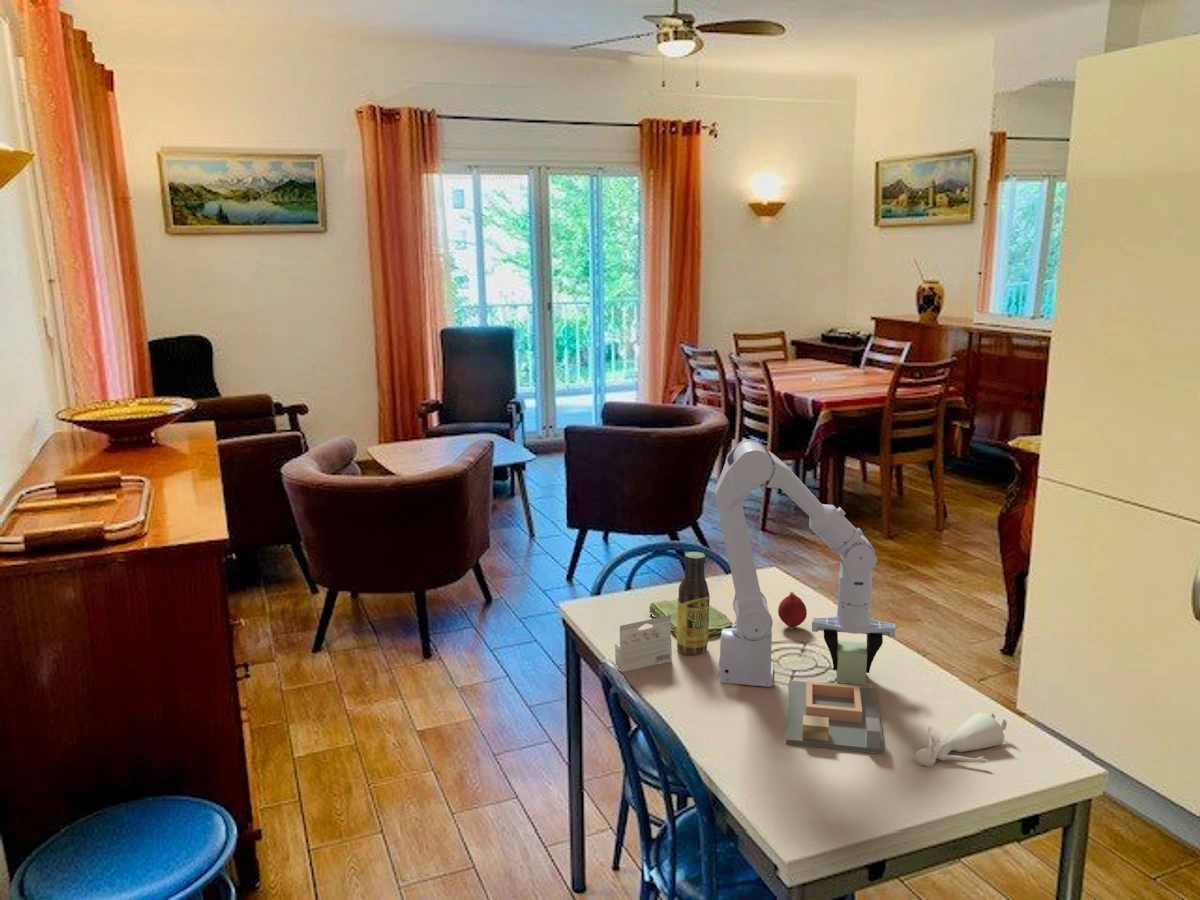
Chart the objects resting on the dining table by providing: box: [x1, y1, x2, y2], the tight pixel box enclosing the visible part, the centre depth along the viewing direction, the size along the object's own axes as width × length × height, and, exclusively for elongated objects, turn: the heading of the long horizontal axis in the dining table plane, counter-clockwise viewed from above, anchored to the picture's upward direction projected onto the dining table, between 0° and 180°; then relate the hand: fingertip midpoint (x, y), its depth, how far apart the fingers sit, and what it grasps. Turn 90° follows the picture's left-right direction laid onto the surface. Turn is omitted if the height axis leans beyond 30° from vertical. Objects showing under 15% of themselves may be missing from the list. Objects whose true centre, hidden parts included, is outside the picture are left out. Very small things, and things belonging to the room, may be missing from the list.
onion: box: [777, 590, 808, 629], centre depth 182 cm, size 6×6×8 cm
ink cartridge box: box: [614, 615, 673, 673], centre depth 167 cm, size 2×11×10 cm, turn 113°
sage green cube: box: [835, 639, 867, 686], centre depth 161 cm, size 5×5×6 cm
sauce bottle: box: [676, 551, 711, 656], centre depth 172 cm, size 7×6×20 cm
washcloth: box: [648, 598, 734, 637], centre depth 186 cm, size 13×18×3 cm
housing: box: [785, 680, 885, 755], centre depth 147 cm, size 15×20×4 cm
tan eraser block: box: [802, 715, 829, 741], centre depth 140 cm, size 4×3×2 cm
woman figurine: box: [914, 712, 1008, 767], centre depth 137 cm, size 12×4×18 cm
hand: (851, 669), depth 161 cm, fingers closed on sage green cube, 5 cm apart
